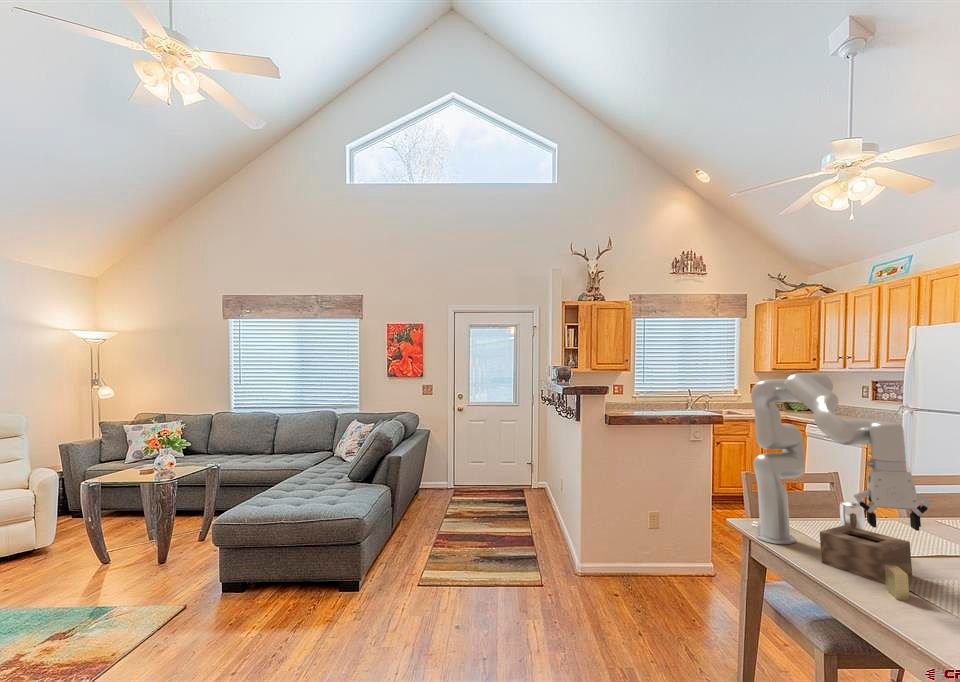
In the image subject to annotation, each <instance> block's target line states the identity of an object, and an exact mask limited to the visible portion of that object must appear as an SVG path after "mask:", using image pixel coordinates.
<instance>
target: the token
mask: <svg viewBox="0 0 960 682" xmlns="http://www.w3.org/2000/svg"><path fill="white" fill-rule="evenodd" d="M885 576H886V584H885V585H886V591H887V592H888V593H889V594H890V595H891V596H892V597H893V598H894V599H895V600H897V601H898V600H899V601H904V602H905V601H906V602H910V601H911V599H910V586H909V577H908V575H907V574H906V573H905V572H904V571H903V570H901V569H900V568H899V567H898V566H890V565H885Z"/></svg>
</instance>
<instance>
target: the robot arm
mask: <svg viewBox="0 0 960 682" xmlns="http://www.w3.org/2000/svg"><path fill="white" fill-rule="evenodd" d="M833 389H834V384H833V382H832V379H831V378H830V377H829V376H828V375H826V374H824V373H822V372H797V373H793V374H791V375H789V376H788V377H787V378H773V379H772V378H771V379H763V380H760V381H758V382H756V383H754V385H753V387H752V388H751V392H750V399H751V404H752V407H753V411H754V421H755V422H754V423H755V424H754V425H755V436H756V437H755V438H756V443H757V445H758V446H759V447H760V448H761V449H762V450H763V449H764V450H770V451H771V450H781V452H765V453H761V454H758V455H757V456H756V457H755V458H754V459H753V461H752V463H753V464H752V465H753V470H754V474H755V478H756V484H757V495H758V497H757V498H758V500H757V501H758V512H759V513H758V515H759V517H758V518H759V522H758V521H755V520H753V521H752V523H751V528H753V529H757V531H756V532H755V537H756V538H757V539H758V540H760V541H762V542H765V543H771V544H776V545H792V544H795V543H796V538H795V536H794V535H791V530H790V528H791V527H790V513H789V497H788V490H787V488H786V486H785V485H784V483H783V482H782V479H796V478H799V477H802V476H803V475H804V472H805V470H806V459H805V444H804V437H803V434H802V432H801V429H800V428H798V426H797V425H795V424H793V423H792V424H791V423H782V417H781V412H780V410H779V408H778V406H777V405H776V404H775V403H789V402H790V403H791V402H795V403H797V402H800V403H801V404H803V405H804V406H806V408H808V409H809V410H810V411H811V412H813V419H814V422H815V424H816V426H817V428H818V429H819V431H821V433H823V434H824V435H826V436H827V437H828V438H830V439H831V440H832V441H833V442H835V443H837V444H839V445H842V446H856V445H870V456H871V457H870V460H867V461H865V465H866V467H871V469H869V470H868V471H869V472H868V476H867V489H865V490H863V491H861V492H859V493H856V494H854V495H853V498H854V499H855V501H856V503H858V504H859V505H860V506H861V507H863V509H864V511H866V522H867V524H869V525H870V527H872V528H877V527H878V526H877V516H876V513H875V510H877V508H882V509H895V510H897V509H899V510H909V511H910V513H909V519H910V521H909V522H910V528H912V529H913V530H915V531H916V532H920V528H921V527H922V523H921V517H922V516H923V514H924V513H925V512H926V511H928V508H929V507H930V504H931V503H932V500H931V499H929V498H927V497H925V496H923V495H920V494H919V493H917V490H916V485H915V482H914V481H915V480H914V478H913V475H912V472H910V471H908V470H907V460H906V459H907V458H906V457H907V456H906V455H907V454H906V445H905V434H904V433H905V432H904V427H903V426H902V424H900V423H898V422H891V421H880V420H876V419H872V418H860V419H859V418H857V419H856V418H855V419H851V418H850V419H842V418H841V417H839V415H837V414H835V412H833V411H835V409H836V408H837V407H838V405H839V398H838V396H837V394H835V393H834V392H833ZM864 498H867V500H868V502H867V503H866V502H864V500H863V499H864ZM918 500H919V501H921V504H919V501H918Z"/></svg>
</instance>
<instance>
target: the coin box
mask: <svg viewBox="0 0 960 682" xmlns="http://www.w3.org/2000/svg"><path fill="white" fill-rule="evenodd" d="M819 543H820V557H821V559H820V561H821V564H824V565H828V566H830V567H833V568H836V569H840V570H842V571H845V572H849V573H851V574H853V575H858V576H860V577H863V578H866V579H869V580H872V581H875V582H878V583H881V584H884V585H886V576H885V565H890V566H898V567H899V568H900V569H901V570H903V571H904V572H905V573H906V574H907V575H908V578H909V577H911V576H913V569H912V568H913V567H912V566H913V565H912V552H911V543H910V541H909V540H904V539H900V538H897V537H892V536H889V535H885V534H881V533H876V532H873V531H869V530H865V529H864V530H862V529H858V528H854V527H850V526H847V525H843V526H842V525H840V526H837V527H832V528H828V529H825V530H821V531H819Z"/></svg>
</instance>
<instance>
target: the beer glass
mask: <svg viewBox="0 0 960 682" xmlns="http://www.w3.org/2000/svg"><path fill="white" fill-rule="evenodd" d="M839 519H840V523H841V526H843V525H847V526H850V527H854V528H858V529H862V530H865V525H866V524H865V523H866V522H865V521H866V516H865V509H864V508H863V507H861V506H860V505H859V504H858V502H854V501H840V502H839Z"/></svg>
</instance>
